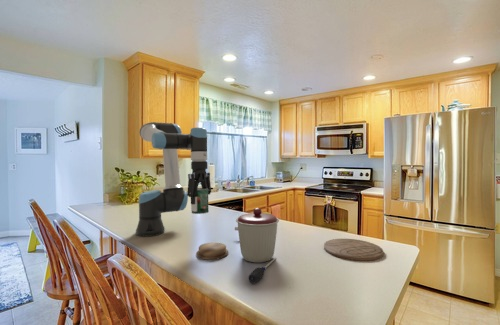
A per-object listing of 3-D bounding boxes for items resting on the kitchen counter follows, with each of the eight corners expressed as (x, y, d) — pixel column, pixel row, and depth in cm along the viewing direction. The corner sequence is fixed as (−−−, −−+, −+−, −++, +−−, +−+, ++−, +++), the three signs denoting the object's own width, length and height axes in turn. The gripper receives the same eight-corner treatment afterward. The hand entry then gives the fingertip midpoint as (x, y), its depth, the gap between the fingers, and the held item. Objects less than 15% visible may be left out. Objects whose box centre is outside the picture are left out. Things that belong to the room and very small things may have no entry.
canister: (281, 252, 119) (281, 205, 118) (276, 268, 101) (276, 213, 100) (241, 249, 122) (241, 203, 122) (230, 265, 105) (230, 211, 104)
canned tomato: (211, 211, 127) (211, 188, 127) (203, 214, 119) (203, 189, 119) (197, 210, 129) (196, 187, 129) (188, 213, 122) (187, 189, 122)
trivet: (313, 246, 127) (313, 242, 127) (353, 239, 137) (353, 236, 137) (350, 266, 104) (350, 261, 104) (396, 256, 113) (396, 252, 113)
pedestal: (189, 256, 114) (189, 249, 114) (208, 246, 126) (208, 240, 126) (217, 262, 108) (217, 254, 107) (234, 251, 120) (234, 244, 120)
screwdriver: (272, 257, 112) (272, 248, 112) (280, 259, 111) (280, 250, 111) (246, 285, 88) (246, 274, 88) (256, 287, 87) (256, 275, 87)
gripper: (191, 160, 113) (192, 214, 113) (218, 160, 132) (218, 206, 132) (177, 161, 117) (178, 213, 117) (205, 160, 135) (206, 205, 135)
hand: (200, 209), depth 124 cm, fingers closed on canned tomato, 8 cm apart
